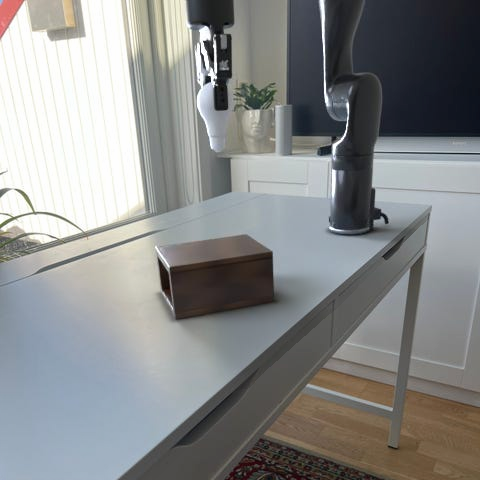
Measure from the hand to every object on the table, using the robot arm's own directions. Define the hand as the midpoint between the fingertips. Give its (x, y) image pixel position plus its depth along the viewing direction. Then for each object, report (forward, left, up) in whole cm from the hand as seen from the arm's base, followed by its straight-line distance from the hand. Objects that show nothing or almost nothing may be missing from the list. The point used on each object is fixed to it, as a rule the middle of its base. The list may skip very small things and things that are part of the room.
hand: (215, 110), depth 80 cm
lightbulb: (0, 0, -7) cm, 7 cm away
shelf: (+6, +13, -28) cm, 31 cm away
